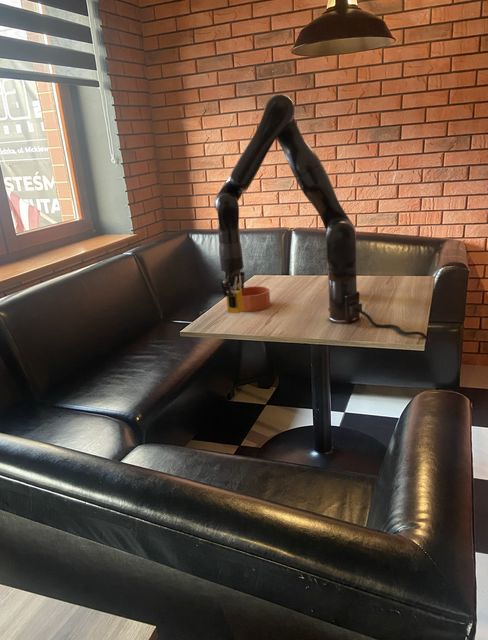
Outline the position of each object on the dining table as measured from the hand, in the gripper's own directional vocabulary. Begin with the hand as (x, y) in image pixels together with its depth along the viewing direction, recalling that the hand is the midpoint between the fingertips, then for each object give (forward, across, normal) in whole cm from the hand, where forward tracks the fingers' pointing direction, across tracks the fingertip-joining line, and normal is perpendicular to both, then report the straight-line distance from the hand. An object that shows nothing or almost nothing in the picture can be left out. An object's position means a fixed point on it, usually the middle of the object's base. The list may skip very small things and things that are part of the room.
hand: (235, 305), depth 182 cm
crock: (+8, +26, +6) cm, 28 cm away
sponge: (+2, 0, 0) cm, 2 cm away
